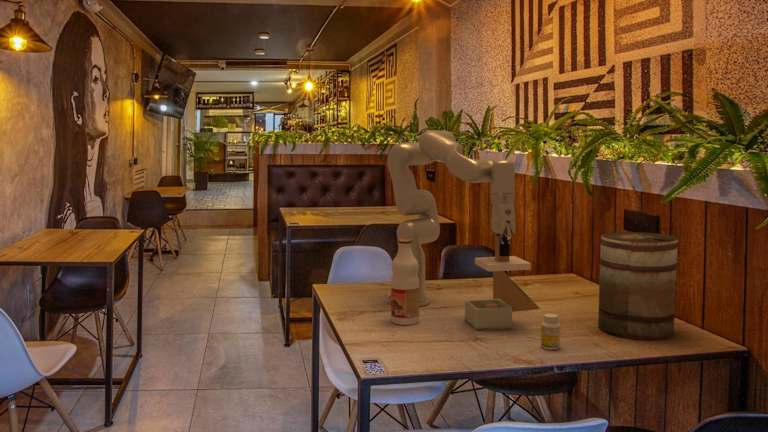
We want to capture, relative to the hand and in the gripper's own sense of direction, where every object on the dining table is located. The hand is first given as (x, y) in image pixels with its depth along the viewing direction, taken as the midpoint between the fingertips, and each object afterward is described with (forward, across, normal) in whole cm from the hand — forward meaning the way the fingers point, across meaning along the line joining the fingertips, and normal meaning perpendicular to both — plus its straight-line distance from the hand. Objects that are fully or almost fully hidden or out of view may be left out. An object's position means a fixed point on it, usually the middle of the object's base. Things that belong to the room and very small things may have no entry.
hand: (502, 254), depth 208 cm
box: (+24, +2, +4) cm, 24 cm away
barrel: (+24, -12, -40) cm, 48 cm away
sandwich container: (+24, +21, -13) cm, 35 cm away
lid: (+4, 0, 0) cm, 4 cm away
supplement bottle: (+24, -24, -6) cm, 35 cm away
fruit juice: (+24, +10, +30) cm, 40 cm away
